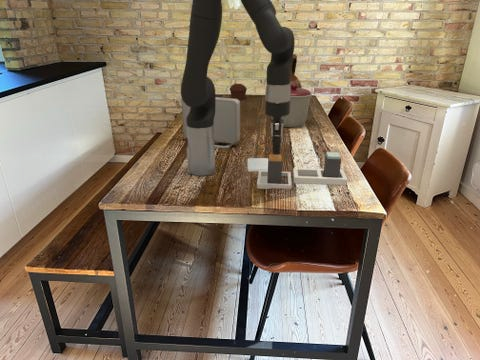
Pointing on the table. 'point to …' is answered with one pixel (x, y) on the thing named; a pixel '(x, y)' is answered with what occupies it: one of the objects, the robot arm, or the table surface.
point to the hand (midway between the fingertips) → (276, 149)
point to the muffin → (238, 91)
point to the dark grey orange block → (274, 169)
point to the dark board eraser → (332, 164)
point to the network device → (221, 121)
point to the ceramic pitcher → (292, 71)
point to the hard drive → (257, 164)
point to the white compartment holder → (317, 177)
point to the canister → (297, 107)
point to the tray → (264, 185)
